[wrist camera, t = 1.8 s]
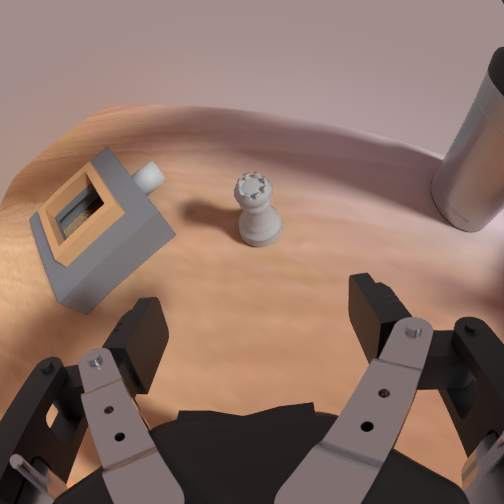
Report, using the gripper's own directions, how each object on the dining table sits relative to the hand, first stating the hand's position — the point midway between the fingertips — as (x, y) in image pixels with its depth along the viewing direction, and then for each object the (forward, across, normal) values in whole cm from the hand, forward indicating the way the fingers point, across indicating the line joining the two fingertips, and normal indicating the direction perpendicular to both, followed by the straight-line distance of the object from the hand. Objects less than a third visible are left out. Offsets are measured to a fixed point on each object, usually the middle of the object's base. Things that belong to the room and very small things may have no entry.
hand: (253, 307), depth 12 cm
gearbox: (+22, +18, +1) cm, 28 cm away
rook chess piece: (+20, 0, +3) cm, 20 cm away
